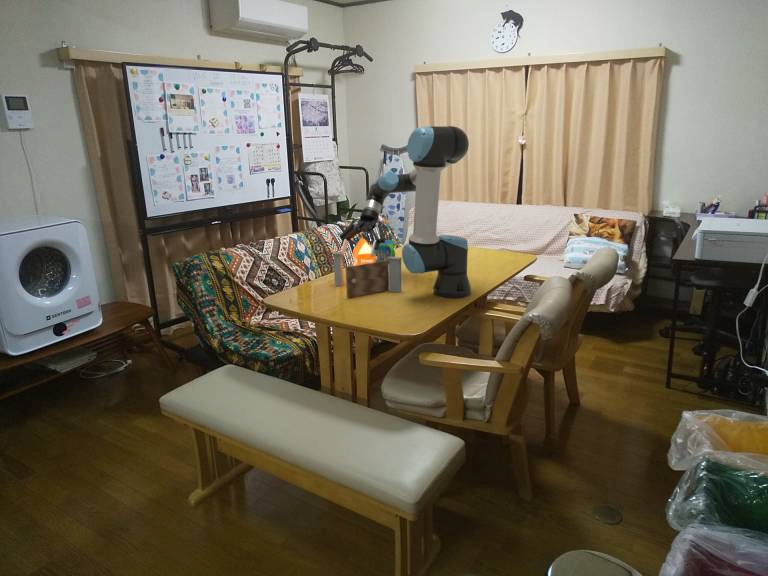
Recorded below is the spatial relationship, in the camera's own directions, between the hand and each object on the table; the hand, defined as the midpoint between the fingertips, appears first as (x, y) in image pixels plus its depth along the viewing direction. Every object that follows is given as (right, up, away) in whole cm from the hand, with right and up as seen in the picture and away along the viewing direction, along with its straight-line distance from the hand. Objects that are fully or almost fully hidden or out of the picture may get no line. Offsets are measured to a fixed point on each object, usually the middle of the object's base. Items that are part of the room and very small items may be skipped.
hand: (356, 255), depth 217 cm
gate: (+5, -16, -4) cm, 17 cm away
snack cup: (+12, -1, +50) cm, 51 cm away
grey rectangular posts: (+3, -14, +5) cm, 15 cm away
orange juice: (+3, -12, +10) cm, 16 cm away
